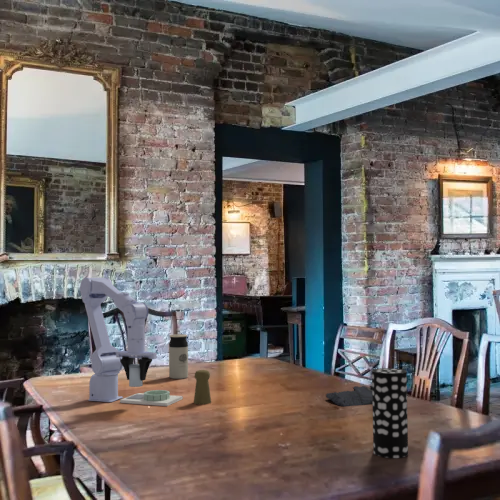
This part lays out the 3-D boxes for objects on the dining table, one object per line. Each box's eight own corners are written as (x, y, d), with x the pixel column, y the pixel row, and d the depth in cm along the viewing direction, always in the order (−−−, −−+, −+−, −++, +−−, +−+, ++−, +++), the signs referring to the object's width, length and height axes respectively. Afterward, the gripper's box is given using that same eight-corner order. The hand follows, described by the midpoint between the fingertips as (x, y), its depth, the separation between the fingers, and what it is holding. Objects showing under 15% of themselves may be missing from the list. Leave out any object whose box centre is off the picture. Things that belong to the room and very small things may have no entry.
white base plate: (120, 402, 208) (120, 394, 209) (137, 395, 220) (137, 387, 220) (166, 406, 202) (166, 397, 203) (182, 399, 214) (182, 390, 214)
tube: (125, 386, 201) (125, 365, 202) (133, 384, 206) (133, 363, 206) (138, 387, 199) (138, 365, 200) (145, 385, 204) (146, 364, 204)
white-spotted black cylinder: (369, 448, 152) (367, 368, 153) (401, 447, 153) (400, 367, 153) (379, 458, 144) (377, 374, 144) (413, 457, 144) (411, 373, 145)
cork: (208, 404, 204) (208, 371, 205) (191, 404, 205) (191, 371, 206) (213, 400, 210) (213, 369, 211) (196, 400, 211) (196, 368, 212)
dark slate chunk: (320, 399, 213) (320, 386, 213) (375, 394, 220) (375, 381, 220) (341, 409, 198) (340, 394, 199) (398, 403, 206) (398, 389, 206)
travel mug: (166, 376, 259) (166, 334, 260) (184, 375, 263) (184, 333, 263) (172, 379, 252) (172, 336, 253) (190, 378, 256) (190, 335, 256)
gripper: (110, 339, 202) (111, 380, 202) (149, 341, 197) (149, 383, 197) (122, 337, 209) (122, 377, 208) (159, 338, 204) (159, 379, 203)
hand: (136, 379), depth 203 cm, fingers closed on tube, 5 cm apart
